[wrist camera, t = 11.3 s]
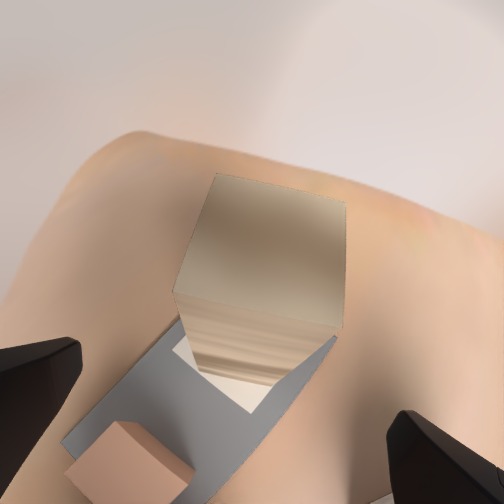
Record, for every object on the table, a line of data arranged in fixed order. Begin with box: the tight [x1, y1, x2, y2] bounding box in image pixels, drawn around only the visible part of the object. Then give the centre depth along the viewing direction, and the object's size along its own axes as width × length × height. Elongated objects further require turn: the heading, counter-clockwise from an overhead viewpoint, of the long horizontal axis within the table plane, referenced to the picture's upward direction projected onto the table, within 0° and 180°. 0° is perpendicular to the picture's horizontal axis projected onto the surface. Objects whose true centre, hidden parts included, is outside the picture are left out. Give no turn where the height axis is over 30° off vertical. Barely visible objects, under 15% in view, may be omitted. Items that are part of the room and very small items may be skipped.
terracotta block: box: [64, 421, 196, 504], centre depth 13 cm, size 5×5×5 cm
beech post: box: [172, 173, 346, 387], centre depth 15 cm, size 5×5×13 cm
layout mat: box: [60, 318, 337, 504], centre depth 18 cm, size 10×20×1 cm, turn 142°
